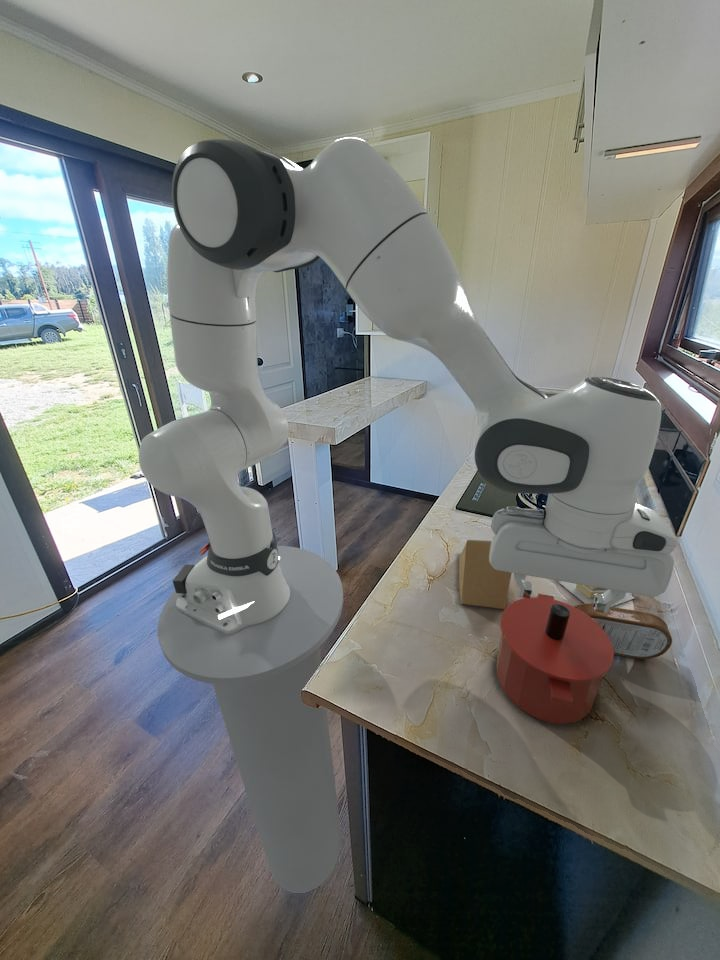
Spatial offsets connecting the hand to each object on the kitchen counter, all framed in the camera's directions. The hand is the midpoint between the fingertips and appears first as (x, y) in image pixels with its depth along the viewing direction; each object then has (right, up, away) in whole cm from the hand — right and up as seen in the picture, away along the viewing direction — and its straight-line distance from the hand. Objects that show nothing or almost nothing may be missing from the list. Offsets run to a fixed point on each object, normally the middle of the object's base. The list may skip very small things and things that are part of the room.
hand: (560, 601), depth 52 cm
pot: (+1, -14, +7) cm, 16 cm away
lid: (0, -6, +3) cm, 6 cm away
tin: (+14, -12, +11) cm, 22 cm away
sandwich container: (-2, -4, +28) cm, 28 cm away
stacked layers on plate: (+19, -5, +24) cm, 31 cm away
